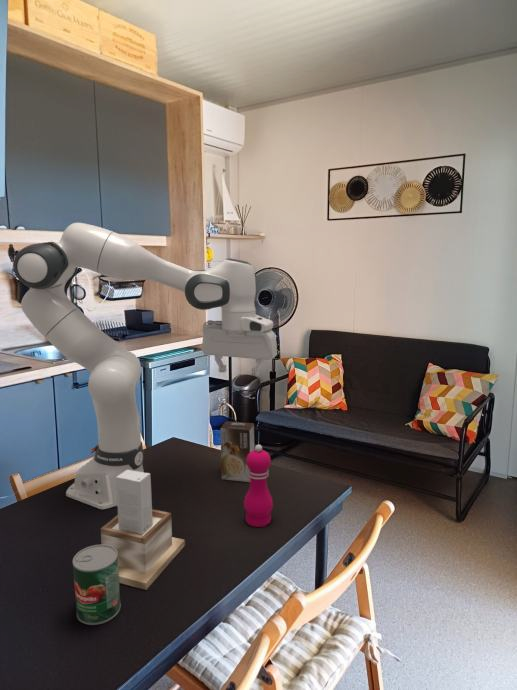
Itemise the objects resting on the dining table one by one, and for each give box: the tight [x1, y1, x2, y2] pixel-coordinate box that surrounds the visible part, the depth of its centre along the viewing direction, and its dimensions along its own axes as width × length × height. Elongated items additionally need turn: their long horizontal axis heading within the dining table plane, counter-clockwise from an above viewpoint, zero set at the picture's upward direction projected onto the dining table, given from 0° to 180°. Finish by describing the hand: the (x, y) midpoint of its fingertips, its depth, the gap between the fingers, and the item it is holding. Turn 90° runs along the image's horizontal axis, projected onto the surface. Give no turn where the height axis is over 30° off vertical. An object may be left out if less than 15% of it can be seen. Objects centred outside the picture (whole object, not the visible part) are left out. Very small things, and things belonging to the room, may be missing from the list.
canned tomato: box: [72, 544, 122, 626], centre depth 92 cm, size 8×8×11 cm
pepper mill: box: [243, 444, 274, 528], centre depth 122 cm, size 7×7×20 cm
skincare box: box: [116, 470, 153, 534], centre depth 104 cm, size 6×4×12 cm
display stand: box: [100, 508, 186, 591], centre depth 107 cm, size 14×16×9 cm
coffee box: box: [220, 420, 255, 483], centre depth 146 cm, size 9×6×16 cm
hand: (238, 373), depth 132 cm, fingers open, 8 cm apart
